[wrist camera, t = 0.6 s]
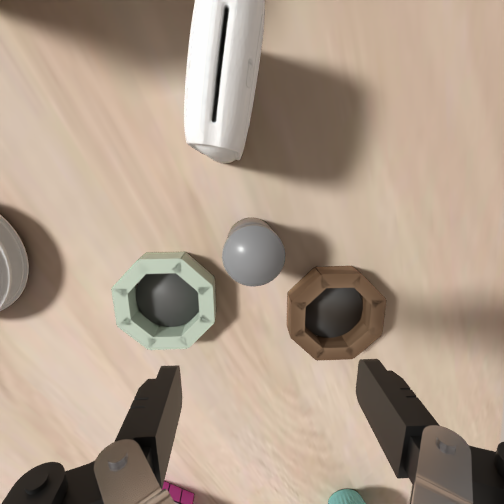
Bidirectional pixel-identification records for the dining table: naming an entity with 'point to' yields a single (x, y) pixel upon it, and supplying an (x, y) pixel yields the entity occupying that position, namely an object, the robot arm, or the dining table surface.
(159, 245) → the dining table surface
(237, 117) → the photo printer
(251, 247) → the cap
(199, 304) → the sage ring
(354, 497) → the cupcake
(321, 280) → the walnut ring
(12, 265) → the lid
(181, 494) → the puzzle toy
